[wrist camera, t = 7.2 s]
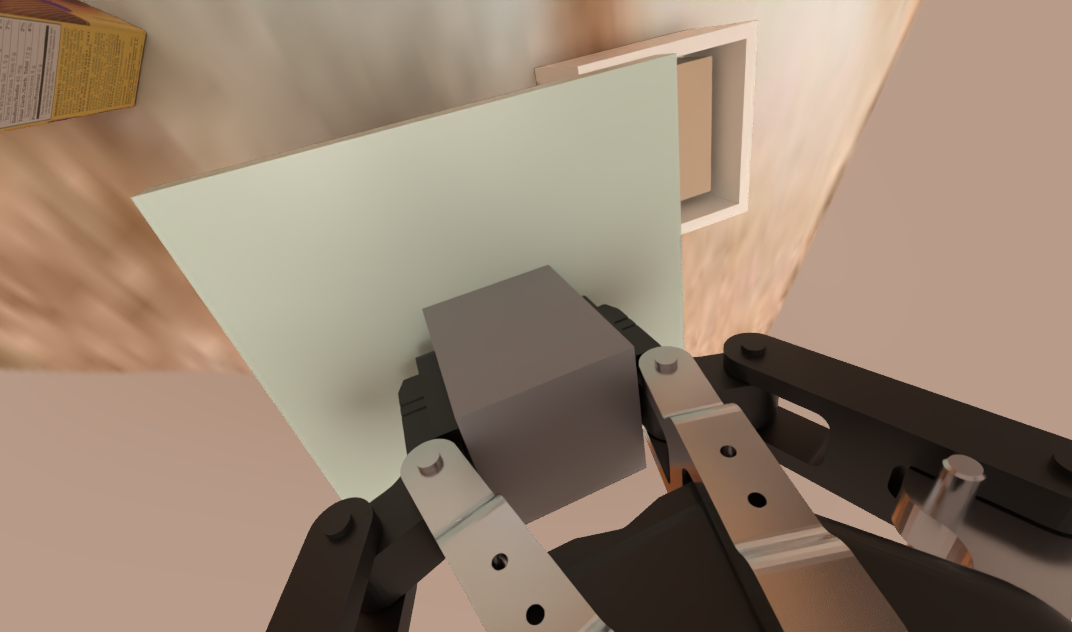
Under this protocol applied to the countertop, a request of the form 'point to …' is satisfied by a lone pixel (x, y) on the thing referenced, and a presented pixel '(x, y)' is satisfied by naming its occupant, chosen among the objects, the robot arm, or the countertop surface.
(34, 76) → the candy box
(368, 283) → the lid
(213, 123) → the countertop surface
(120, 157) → the countertop surface
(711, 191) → the storage box
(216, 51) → the countertop surface
